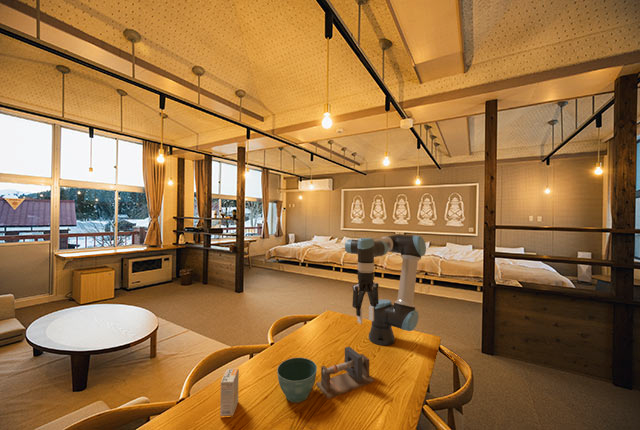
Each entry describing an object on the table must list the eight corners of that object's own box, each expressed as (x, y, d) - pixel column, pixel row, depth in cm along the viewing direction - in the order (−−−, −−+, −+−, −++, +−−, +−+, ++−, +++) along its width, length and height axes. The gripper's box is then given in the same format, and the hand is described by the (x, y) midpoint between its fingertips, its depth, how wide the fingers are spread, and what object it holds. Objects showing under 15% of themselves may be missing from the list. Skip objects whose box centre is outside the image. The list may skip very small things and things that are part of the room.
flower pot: (301, 416, 92) (301, 386, 92) (268, 399, 100) (268, 371, 100) (324, 390, 105) (324, 364, 106) (293, 378, 114) (293, 353, 114)
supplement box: (226, 402, 98) (226, 368, 99) (238, 401, 99) (239, 368, 99) (219, 418, 90) (220, 381, 90) (233, 418, 91) (233, 381, 91)
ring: (349, 368, 117) (349, 346, 118) (362, 380, 109) (362, 356, 109) (344, 369, 116) (344, 347, 117) (357, 381, 107) (357, 358, 108)
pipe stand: (360, 369, 121) (360, 350, 121) (374, 381, 112) (374, 360, 112) (316, 384, 109) (316, 363, 109) (327, 399, 100) (327, 376, 101)
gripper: (376, 268, 125) (376, 315, 124) (344, 271, 116) (344, 322, 115) (386, 270, 118) (387, 320, 117) (353, 274, 109) (353, 328, 109)
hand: (365, 321), depth 116 cm, fingers open, 6 cm apart
